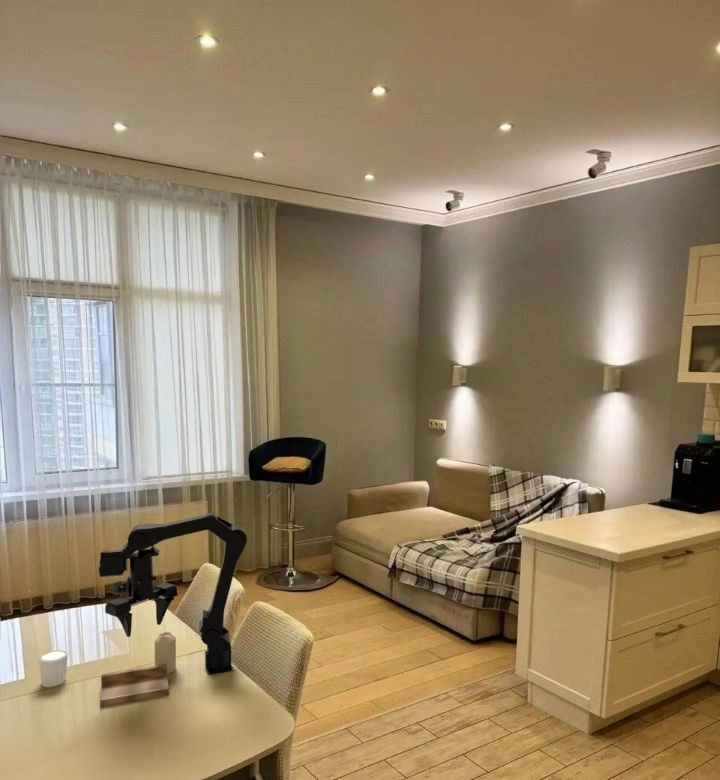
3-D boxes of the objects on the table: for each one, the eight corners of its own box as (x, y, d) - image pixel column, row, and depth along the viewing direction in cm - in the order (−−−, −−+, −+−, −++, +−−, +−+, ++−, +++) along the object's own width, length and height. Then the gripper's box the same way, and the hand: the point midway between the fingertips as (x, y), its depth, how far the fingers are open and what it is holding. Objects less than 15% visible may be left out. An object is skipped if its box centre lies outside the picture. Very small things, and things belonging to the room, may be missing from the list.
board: (166, 678, 162) (166, 663, 162) (168, 694, 154) (168, 679, 154) (101, 689, 157) (101, 674, 157) (100, 706, 148) (100, 690, 148)
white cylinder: (38, 690, 156) (38, 663, 156) (39, 679, 162) (38, 652, 162) (68, 684, 159) (68, 657, 159) (67, 673, 165) (67, 647, 165)
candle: (169, 675, 164) (169, 639, 164) (150, 673, 165) (150, 637, 165) (179, 666, 169) (179, 630, 169) (161, 664, 170) (161, 629, 170)
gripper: (154, 559, 175) (156, 612, 176) (92, 577, 160) (95, 636, 161) (178, 565, 169) (180, 621, 169) (116, 585, 154) (118, 646, 154)
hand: (144, 630), depth 163 cm, fingers open, 9 cm apart
